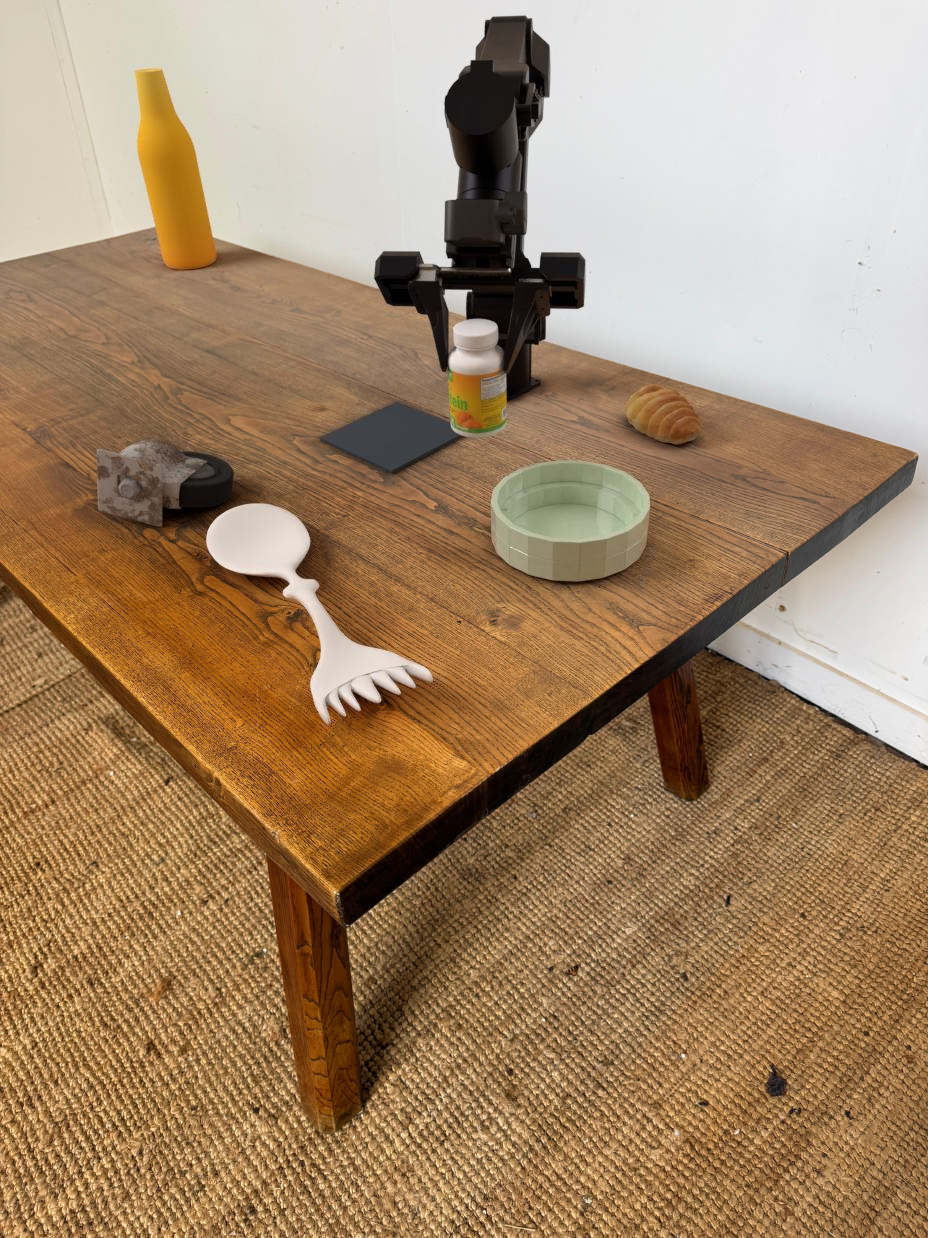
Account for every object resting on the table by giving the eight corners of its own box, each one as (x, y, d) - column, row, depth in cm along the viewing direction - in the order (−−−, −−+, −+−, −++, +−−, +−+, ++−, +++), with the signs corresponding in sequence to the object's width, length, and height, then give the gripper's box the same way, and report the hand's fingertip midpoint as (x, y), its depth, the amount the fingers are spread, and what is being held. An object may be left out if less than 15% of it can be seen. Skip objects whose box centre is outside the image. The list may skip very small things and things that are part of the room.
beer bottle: (191, 273, 150) (147, 75, 132) (153, 266, 154) (104, 72, 136) (228, 257, 156) (191, 66, 138) (190, 251, 160) (149, 64, 142)
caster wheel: (243, 502, 95) (203, 542, 86) (143, 476, 95) (94, 513, 87) (247, 444, 91) (207, 479, 83) (144, 418, 92) (93, 449, 83)
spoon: (328, 752, 62) (322, 718, 60) (197, 541, 84) (189, 510, 82) (440, 705, 66) (437, 670, 64) (286, 514, 88) (280, 483, 86)
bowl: (556, 485, 90) (557, 445, 87) (675, 534, 82) (680, 492, 79) (461, 544, 82) (459, 503, 79) (582, 605, 74) (585, 561, 72)
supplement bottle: (439, 423, 85) (433, 324, 79) (486, 408, 87) (483, 310, 81) (470, 445, 81) (466, 343, 75) (517, 428, 84) (517, 328, 77)
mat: (396, 404, 107) (396, 401, 106) (469, 433, 100) (469, 429, 100) (320, 440, 100) (319, 437, 100) (392, 473, 93) (391, 470, 93)
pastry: (715, 439, 96) (720, 407, 94) (664, 454, 94) (668, 421, 92) (665, 406, 103) (668, 375, 101) (616, 420, 101) (618, 389, 99)
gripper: (366, 152, 74) (350, 331, 73) (590, 150, 71) (577, 336, 70) (395, 223, 85) (381, 380, 84) (589, 223, 82) (578, 386, 81)
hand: (474, 370), depth 79 cm, fingers closed on supplement bottle, 5 cm apart
